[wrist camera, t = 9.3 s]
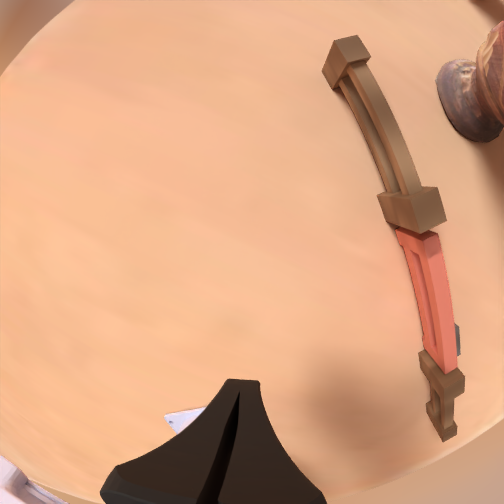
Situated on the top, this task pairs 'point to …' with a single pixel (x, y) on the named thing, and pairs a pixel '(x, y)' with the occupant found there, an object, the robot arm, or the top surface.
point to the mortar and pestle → (476, 90)
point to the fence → (396, 194)
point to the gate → (431, 294)
